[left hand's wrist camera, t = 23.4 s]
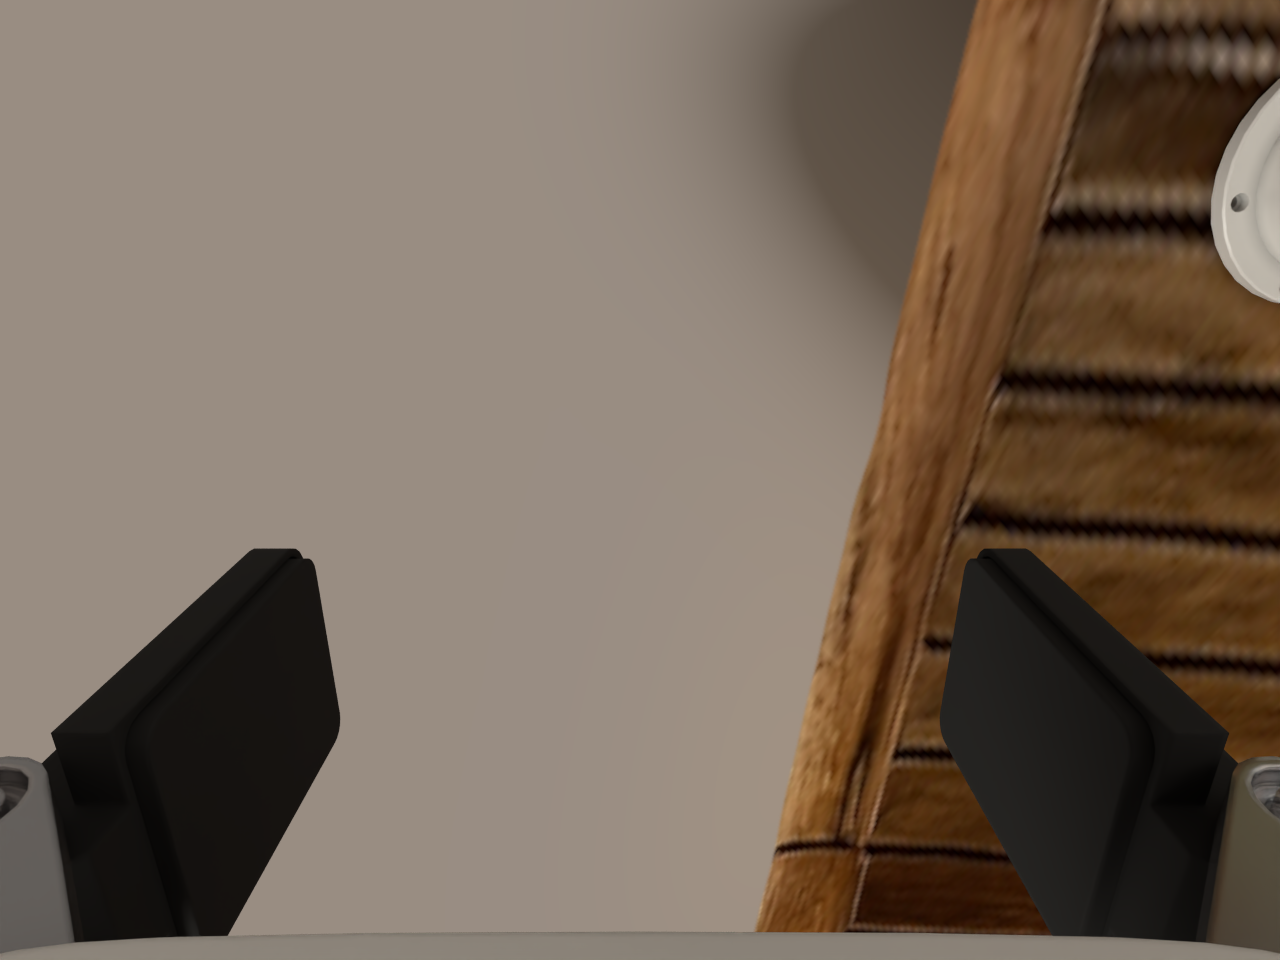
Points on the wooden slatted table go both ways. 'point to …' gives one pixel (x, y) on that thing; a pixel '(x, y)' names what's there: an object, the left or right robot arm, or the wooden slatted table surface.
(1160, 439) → the wooden slatted table surface
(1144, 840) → the left robot arm
